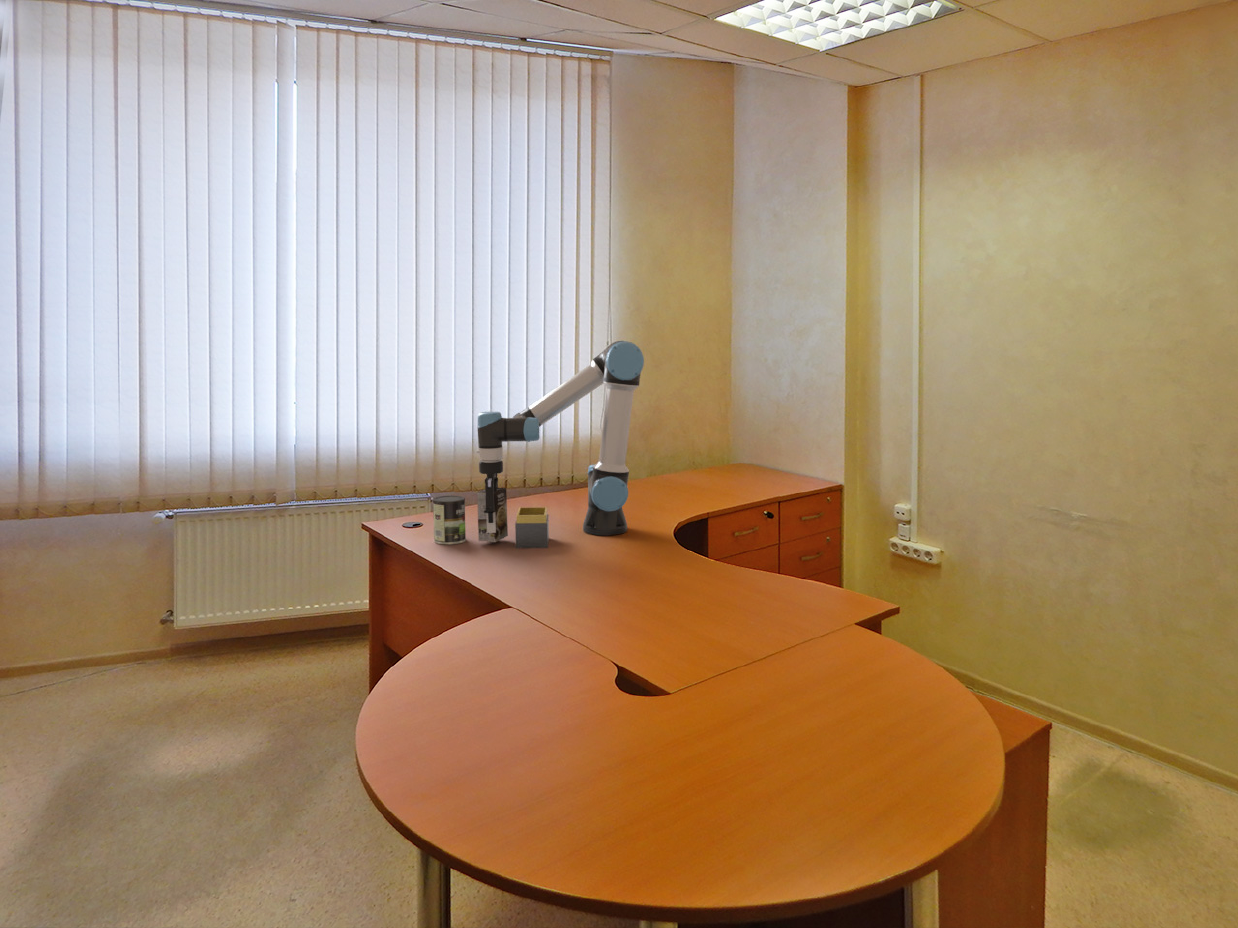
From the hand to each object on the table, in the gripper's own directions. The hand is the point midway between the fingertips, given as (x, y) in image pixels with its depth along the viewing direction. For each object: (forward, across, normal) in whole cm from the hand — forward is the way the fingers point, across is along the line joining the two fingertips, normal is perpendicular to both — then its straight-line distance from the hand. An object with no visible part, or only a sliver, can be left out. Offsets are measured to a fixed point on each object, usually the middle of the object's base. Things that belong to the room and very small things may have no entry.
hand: (493, 528), depth 272 cm
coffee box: (+4, 0, 0) cm, 4 cm away
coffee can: (+5, -3, -14) cm, 15 cm away
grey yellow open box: (+5, +1, +13) cm, 14 cm away
